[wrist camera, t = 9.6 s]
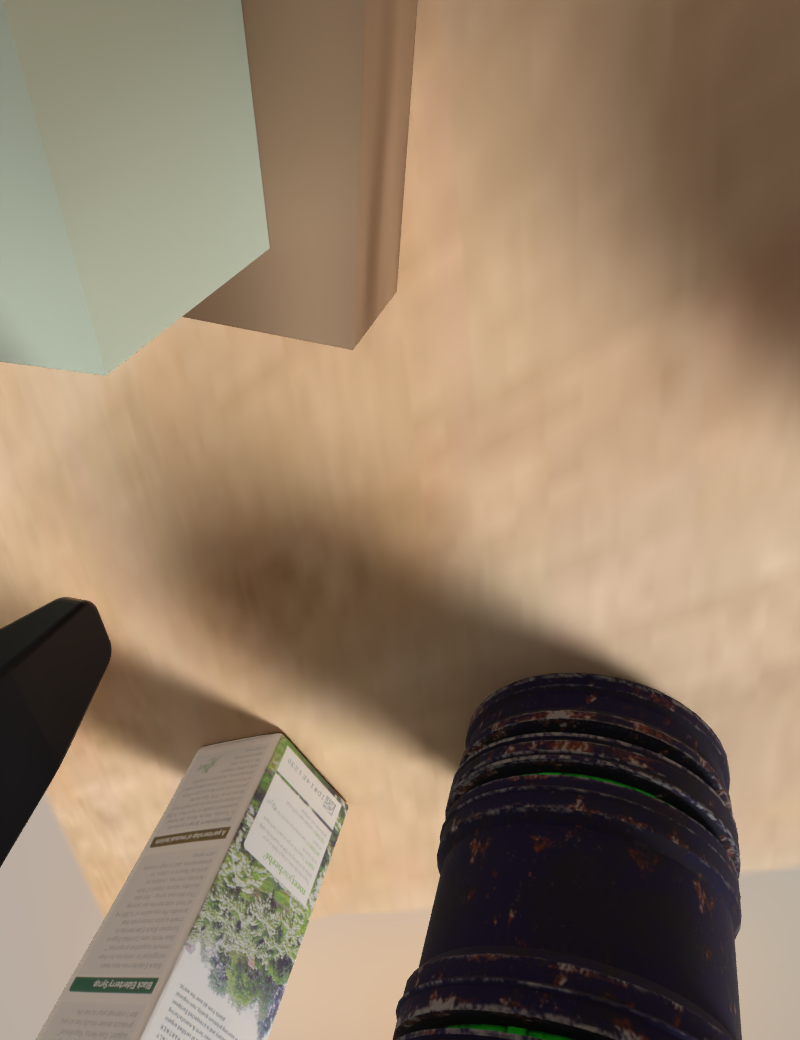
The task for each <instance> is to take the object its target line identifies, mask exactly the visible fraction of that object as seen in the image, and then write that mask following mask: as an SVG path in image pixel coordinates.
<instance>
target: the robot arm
mask: <svg viewBox="0 0 800 1040" xmlns="http://www.w3.org/2000/svg"><path fill="white" fill-rule="evenodd" d="M111 650H112V649H111V642H110V640H109V637H108V635H107V632H106V630H105V627H104V625H103V622H102V620H101V617H100V615H99V612H98V610H97V608H96V606H95V605H94V604H93V603H92V602H90V601H87V600H81V599H76V598H70V597H62V598H58V599H56V600H54V601H52V602H50V603H48V604H46V605H45V606H43V607H41V608H39V609H37V610H35V611H33V612H31V613H30V614H28V615H26V616H24V617H22V618H20V619H18V620H16V621H15V622H13V623H11V624H9V625H7V626H5V627H3V628H1V629H0V867H1V865H2V864H3V862H4V860H5V858H6V857H7V855H8V853H9V852H10V850H11V848H12V847H13V845H14V843H15V841H16V840H17V838H18V837H19V835H20V833H21V832H22V830H23V828H24V827H25V825H26V823H27V822H28V820H29V818H30V816H31V815H32V813H33V811H34V810H35V808H36V806H37V805H38V803H39V801H40V800H41V798H42V796H43V795H44V793H45V791H46V790H47V788H48V786H49V785H50V783H51V781H52V779H53V778H54V776H55V774H56V772H57V770H58V769H59V767H60V765H61V763H62V761H63V759H64V757H65V755H66V753H67V751H68V749H69V747H70V745H71V743H72V741H73V739H74V736H75V734H76V732H77V730H78V728H79V726H80V724H81V721H82V719H83V717H84V715H85V713H86V711H87V709H88V706H89V704H90V702H91V700H92V698H93V696H94V694H95V691H96V689H97V687H98V685H99V683H100V681H101V679H102V677H103V674H104V672H105V670H106V668H107V666H108V664H109V661H110V657H111Z"/></svg>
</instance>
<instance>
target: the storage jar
mask: <svg viewBox="0 0 800 1040" xmlns="http://www.w3.org/2000/svg"><path fill="white" fill-rule="evenodd" d="M729 784H730V777H729V766H728V761H727V756H726V753H725V751H724V748H723V746H722V744H721V742H720V740H719V739H718V737H717V736H716V735H715V733H714V732H713V731H712V729H711V728H710V727H709V726H708V725H707V724H706V723H705V722H704V721H703V720H702V719H701V718H700V717H699V716H698V715H697V714H695V713H694V712H692V711H691V710H690V709H688V708H687V707H685V706H684V705H682V704H681V703H679V702H678V701H676V700H674V699H672V698H670V697H668V696H666V695H664V694H663V693H660V692H658V691H655V690H653V689H650V688H648V687H645V686H643V685H640V684H637V683H633V682H629V681H626V680H622V679H619V678H613V677H607V676H601V675H594V674H580V673H564V674H549V675H542V676H536V677H531V678H528V679H524V680H521V681H517V682H514V683H512V684H510V685H508V686H506V687H503V688H501V689H499V690H498V691H496V692H495V693H493V694H492V695H491V696H489V697H488V698H487V699H486V700H485V701H484V702H483V703H482V704H481V705H480V706H479V707H478V708H477V710H476V712H475V713H474V715H473V717H472V719H471V722H470V726H469V730H468V734H467V738H466V750H465V752H464V753H463V756H462V759H461V763H460V767H459V769H458V770H457V772H456V774H455V776H454V779H453V783H452V786H451V791H450V794H449V799H448V803H447V807H446V811H445V813H446V821H445V822H444V824H443V826H442V830H441V834H440V845H439V849H438V853H437V866H438V870H439V873H440V879H439V883H438V888H437V892H436V896H435V900H434V905H433V909H432V913H431V918H430V922H429V926H428V930H427V935H426V939H425V943H424V947H423V952H422V956H421V960H420V964H419V968H418V969H417V970H415V971H414V973H413V974H412V975H411V976H410V977H409V979H408V980H407V984H406V987H405V991H404V995H403V997H402V998H401V999H400V1000H399V1002H398V1005H397V1009H396V1016H397V1024H396V1028H395V1032H394V1036H393V1040H742V1035H741V1022H740V1009H739V995H738V981H737V967H736V953H735V938H736V936H737V934H738V932H739V930H740V925H741V906H740V897H741V896H740V892H739V882H738V878H739V873H740V857H739V856H740V853H739V843H738V833H737V828H736V823H735V820H734V818H733V813H732V806H731V800H730V795H729Z"/></svg>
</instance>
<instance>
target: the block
mask: <svg viewBox="0 0 800 1040" xmlns="http://www.w3.org/2000/svg"><path fill="white" fill-rule="evenodd" d="M417 2H418V0H241V5H242V13H243V22H244V30H245V39H246V48H247V56H248V65H249V74H250V82H251V91H252V99H253V108H254V117H255V125H256V134H257V143H258V151H259V160H260V168H261V177H262V186H263V194H264V203H265V212H266V220H267V229H268V237H269V246H270V248H269V249H268V250H267V251H266V252H264V253H263V254H262V255H260V256H259V257H258V258H257V259H255V260H254V261H253V262H251V263H250V264H249V265H248V266H246V267H245V268H244V269H243V270H241V271H240V272H239V273H237V274H236V275H235V276H234V277H232V278H231V279H230V280H228V281H227V282H226V283H225V284H223V285H222V286H221V287H219V288H218V289H217V290H216V291H214V292H213V293H212V294H210V295H209V296H208V297H207V298H205V299H204V300H203V301H201V302H200V303H199V304H198V305H196V306H195V307H194V308H193V309H191V310H190V311H189V312H187V313H186V314H185V315H184V316H182V317H186V318H191V319H196V320H202V321H207V322H212V323H217V324H222V325H227V326H232V327H237V328H243V329H248V330H253V331H258V332H263V333H268V334H273V335H278V336H284V337H289V338H294V339H299V340H304V341H309V342H314V343H319V344H325V345H330V346H335V347H340V348H345V349H350V350H353V349H354V348H355V346H356V345H357V344H358V342H359V341H360V340H361V338H362V337H363V336H364V334H365V333H366V332H367V330H368V329H369V328H370V326H371V325H372V324H373V322H374V321H375V320H376V318H377V317H378V316H379V314H380V313H381V312H382V310H383V309H384V308H385V306H386V305H387V304H388V302H389V301H390V300H391V298H392V297H393V296H394V294H395V293H396V292H397V279H398V265H399V251H400V237H401V224H402V210H403V196H404V182H405V168H406V154H407V141H408V127H409V113H410V99H411V85H412V71H413V58H414V44H415V30H416V16H417Z"/></svg>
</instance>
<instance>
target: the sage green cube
mask: <svg viewBox="0 0 800 1040" xmlns="http://www.w3.org/2000/svg"><path fill="white" fill-rule="evenodd" d="M269 248H270V246H269V237H268V229H267V220H266V212H265V203H264V194H263V186H262V177H261V168H260V160H259V151H258V143H257V134H256V125H255V117H254V108H253V99H252V91H251V82H250V74H249V65H248V56H247V48H246V39H245V30H244V22H243V13H242V5H241V0H0V362H6V363H14V364H22V365H29V366H37V367H45V368H52V369H60V370H67V371H75V372H83V373H90V374H98V375H106V376H107V375H108V374H109V373H110V372H112V371H113V370H114V369H116V368H117V367H118V366H119V365H121V364H122V363H123V362H125V361H126V360H127V359H128V358H130V357H131V356H132V355H134V354H135V353H136V352H137V351H139V350H140V349H141V348H142V347H144V346H145V345H146V344H148V343H149V342H150V341H151V340H153V339H154V338H155V337H157V336H158V335H159V334H160V333H162V332H163V331H164V330H166V329H167V328H168V327H169V326H171V325H172V324H173V323H175V322H176V321H177V320H178V319H180V318H181V317H182V316H184V315H185V314H186V313H187V312H189V311H190V310H191V309H193V308H194V307H195V306H196V305H198V304H199V303H200V302H201V301H203V300H204V299H205V298H207V297H208V296H209V295H210V294H212V293H213V292H214V291H216V290H217V289H218V288H219V287H221V286H222V285H223V284H225V283H226V282H227V281H228V280H230V279H231V278H232V277H234V276H235V275H236V274H237V273H239V272H240V271H241V270H243V269H244V268H245V267H246V266H248V265H249V264H250V263H251V262H253V261H254V260H255V259H257V258H258V257H259V256H260V255H262V254H263V253H264V252H266V251H267V250H268V249H269Z"/></svg>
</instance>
